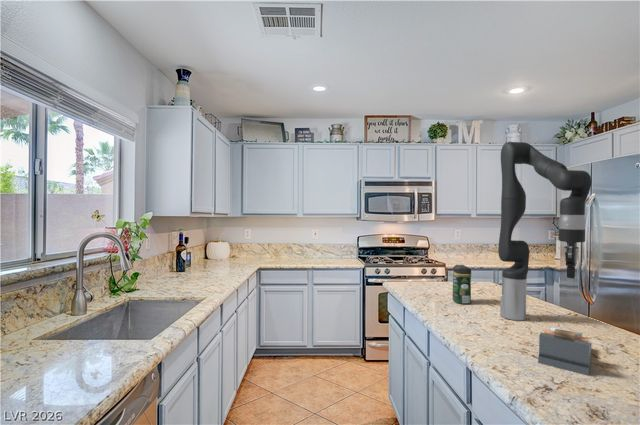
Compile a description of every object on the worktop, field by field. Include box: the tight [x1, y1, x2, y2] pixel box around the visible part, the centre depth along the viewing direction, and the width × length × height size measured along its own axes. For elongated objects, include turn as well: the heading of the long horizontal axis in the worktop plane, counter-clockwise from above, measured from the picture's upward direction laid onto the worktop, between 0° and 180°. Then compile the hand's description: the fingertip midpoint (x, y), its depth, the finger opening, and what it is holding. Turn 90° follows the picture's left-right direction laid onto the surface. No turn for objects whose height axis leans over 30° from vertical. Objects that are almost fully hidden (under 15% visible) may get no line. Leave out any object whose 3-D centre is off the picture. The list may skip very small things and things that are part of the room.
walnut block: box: [554, 328, 576, 339], centre depth 105 cm, size 5×4×7 cm
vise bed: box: [537, 332, 592, 376], centre depth 109 cm, size 12×24×8 cm, turn 140°
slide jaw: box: [543, 326, 589, 342], centre depth 108 cm, size 11×3×6 cm, turn 50°
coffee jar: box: [452, 264, 472, 305], centre depth 172 cm, size 10×8×19 cm
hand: (570, 277), depth 119 cm, fingers closed
